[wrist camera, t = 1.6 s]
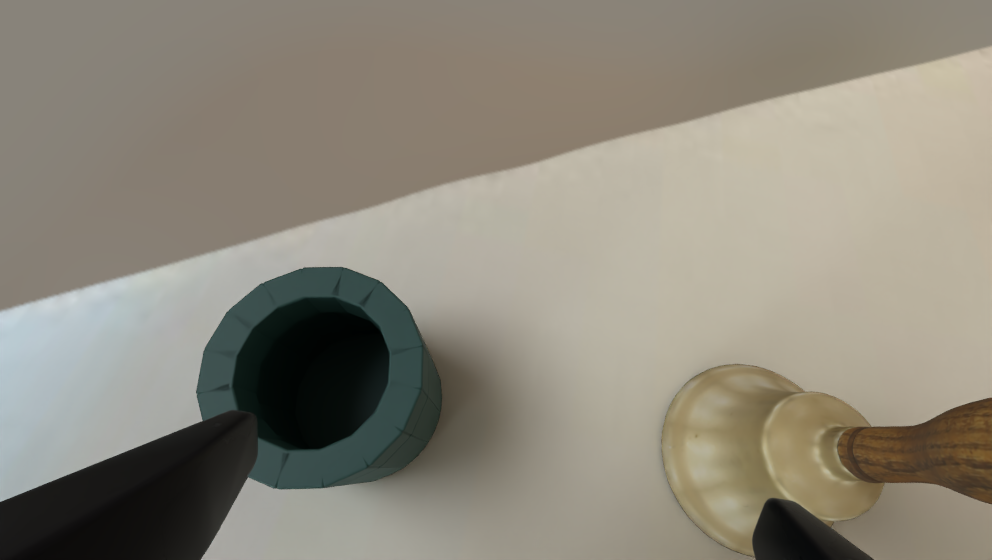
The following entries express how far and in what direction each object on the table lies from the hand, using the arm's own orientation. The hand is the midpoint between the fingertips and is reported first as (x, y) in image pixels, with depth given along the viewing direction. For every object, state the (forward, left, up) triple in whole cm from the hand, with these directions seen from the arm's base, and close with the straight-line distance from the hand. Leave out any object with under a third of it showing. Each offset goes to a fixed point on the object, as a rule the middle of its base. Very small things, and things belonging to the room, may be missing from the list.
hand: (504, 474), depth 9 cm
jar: (+6, +2, -15) cm, 16 cm away
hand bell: (-8, -9, -15) cm, 19 cm away
